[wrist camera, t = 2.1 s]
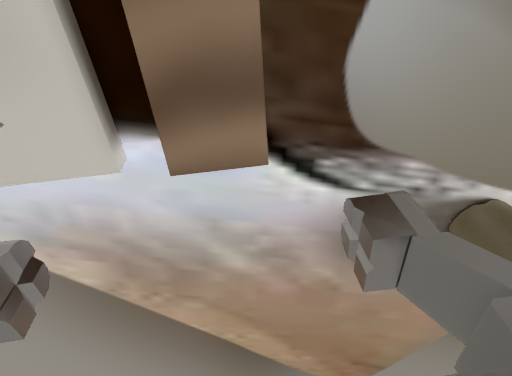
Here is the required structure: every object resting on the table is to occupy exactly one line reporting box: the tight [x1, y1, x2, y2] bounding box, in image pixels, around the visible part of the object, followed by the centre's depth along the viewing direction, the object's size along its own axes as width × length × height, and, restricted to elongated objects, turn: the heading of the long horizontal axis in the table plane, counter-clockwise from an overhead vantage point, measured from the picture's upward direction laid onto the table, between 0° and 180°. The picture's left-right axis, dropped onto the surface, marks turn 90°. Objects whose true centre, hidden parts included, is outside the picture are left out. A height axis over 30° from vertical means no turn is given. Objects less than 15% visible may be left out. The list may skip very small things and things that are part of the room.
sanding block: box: [121, 0, 268, 176], centre depth 19 cm, size 10×6×5 cm, turn 4°
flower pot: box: [449, 200, 512, 262], centre depth 29 cm, size 9×9×9 cm
